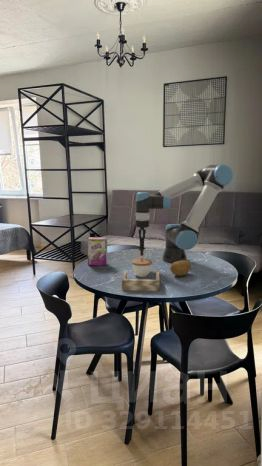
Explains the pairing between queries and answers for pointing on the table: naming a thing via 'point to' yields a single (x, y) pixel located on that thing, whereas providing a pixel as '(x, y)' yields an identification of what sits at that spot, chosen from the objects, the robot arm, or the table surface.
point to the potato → (180, 267)
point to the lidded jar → (141, 267)
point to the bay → (140, 284)
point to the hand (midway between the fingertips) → (141, 260)
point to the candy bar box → (97, 251)
